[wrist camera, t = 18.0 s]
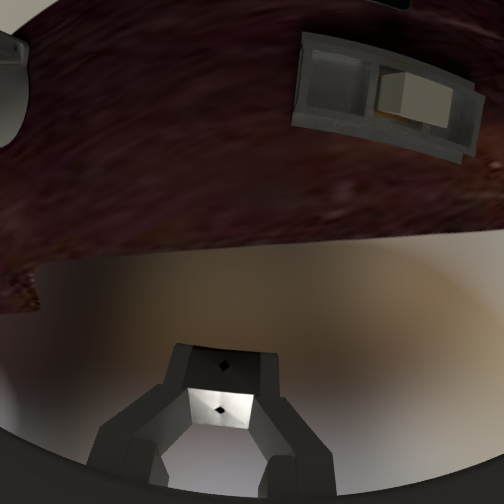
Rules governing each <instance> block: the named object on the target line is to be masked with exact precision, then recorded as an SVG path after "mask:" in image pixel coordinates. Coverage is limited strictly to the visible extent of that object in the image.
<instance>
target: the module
mask: <svg viewBox="0 0 504 504" xmlns="http://www.w3.org/2000/svg"><path fill="white" fill-rule="evenodd" d="M452 93H453V89H452V88H449V87H447V86H444V85H442V84H439V83H436V82H434V81H431V80H428V79H425V78H423V77H420V76H417V75H414V74H411V73H408V72H401V73H394V74H388V75H382V76H378V82H377V90H376V97H375V104H374V110H378V111H382V112H386V113H390V114H393V115H397V116H401V117H404V118H408V119H411V120H416V121H420V122H424V123H428V124H432V125H436V126H440V127H443V128H447V126H448V120H449V114H450V108H451V101H452Z"/></svg>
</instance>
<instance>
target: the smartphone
mask: <svg viewBox="0 0 504 504" xmlns="http://www.w3.org/2000/svg"><path fill="white" fill-rule="evenodd" d="M366 1H370V2H373V3H377V4H380V5H383V6H387V7H390V8H393V9H396V10H399V11H407V10H409V9H410V7H411V0H366Z"/></svg>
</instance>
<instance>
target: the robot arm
mask: <svg viewBox="0 0 504 504" xmlns="http://www.w3.org/2000/svg"><path fill="white" fill-rule="evenodd" d="M28 55H29V44H28V43H27V42H25V41H23V40H21V39H18V38H16V37H14V36H12V35H10V34H7V33H5V32H3V31H0V147H3V146H5V145H7V144H8V143H9V142H11V141H12V139H13V138H14V137H15V136H16V134H17V133H18V131H19V129H20V127H21V125H22V122H23V120H24V117H25V113H26V109H27V104H28V96H29V82H28V74H27V61H28ZM278 362H279V361H278V354H277V353H265V352H252V351H239V350H224V349H217V348H209V347H202V346H195V345H187V344H181V343H177V344H176V345H175V346H174V349H173V352H172V356H171V359H170V362H169V365H168V369H167V372H166V376H165V379H164V382H163V385H161V384H157V385H156V386H154V387H153V388H152V389H151V390H149V391H148V392H146V393H145V394H144V395H143V396H141V397H140V398H138V399H137V400H136V401H134V402H133V403H132V404H130V405H129V406H128V407H126V408H125V409H124V410H122V411H121V412H119V413H118V414H117V415H115V416H114V417H113V418H111V419H110V420H109V421H107V422H106V423H104V424H103V425H101V426H100V428H99V431H98V434H97V436H96V439H95V441H94V444H93V447H92V450H91V452H90V455H89V458H88V461H87V464H86V465H84V464H81V463H78V462H75V461H72V460H70V459H67V458H65V457H62V456H60V455H57V454H55V453H53V452H50V451H48V450H46V449H43V448H41V447H39V446H37V445H35V444H32V443H30V442H28V441H26V440H24V439H22V438H20V437H18V436H16V435H14V434H12V433H10V432H8V431H7V430H5V429H3V428H1V427H0V504H504V454H502V455H500V456H497V457H495V458H492V459H490V460H487V461H485V462H482V463H480V464H477V465H474V466H471V467H468V468H465V469H463V470H460V471H457V472H453V473H450V474H447V475H443V476H440V477H437V478H433V479H429V480H425V481H421V482H417V483H413V484H408V485H404V486H400V487H394V488H389V489H383V490H377V491H371V492H365V493H357V494H349V495H339V496H337V492H336V482H335V473H334V464H333V455H332V453H331V452H330V451H329V449H328V448H327V447H326V446H325V445H324V444H323V442H322V441H321V440H320V439H319V438H318V437H317V436H316V435H315V433H314V432H313V431H312V430H311V428H310V427H309V426H308V425H307V424H306V423H305V421H304V420H303V419H302V418H301V417H300V415H299V414H298V413H297V412H296V411H295V409H294V408H293V407H292V406H291V404H290V403H289V402H288V401H287V400H286V398H284V397H280V389H279V363H278ZM192 423H199V424H209V425H220V426H227V427H236V428H246V429H248V431H249V432H250V434H251V436H252V437H253V439H254V441H255V442H256V444H257V445H258V447H259V449H260V451H261V452H262V454H263V455H264V457H265V459H266V460H267V461H268V463H267V466H266V468H265V471H264V474H263V477H262V479H261V482H260V485H259V488H258V498H252V497H236V496H225V495H215V494H207V493H199V492H192V491H186V490H180V489H174V488H168V487H167V486H168V481H169V475H168V473H167V471H166V468H165V466H164V463H163V461H162V458H161V455H162V454H163V453H164V452H165V451H166V450H167V449H168V448H169V447H170V446H171V445H172V444H173V443H174V442H175V441H176V440H177V439H178V438H179V437H180V436H181V435H182V434H183V433H184V432H185V431H186V430H187V429H188V428H189V426H191V425H192Z"/></svg>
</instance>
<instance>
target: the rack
mask: <svg viewBox="0 0 504 504" xmlns="http://www.w3.org/2000/svg"><path fill="white" fill-rule="evenodd" d="M401 72H408V73H411V74H414V75H417V76H420V77H423V78H425V79H428V80H431V81H434V82H436V83H439V84H442V85H444V86H447V87H449V88H452V89H453V93H452V101H451V108H450V114H449V120H448V126H447V128H443V127H440V126H436V125H432V124H428V123H424V122H420V121H416V120H411V119H408V118H404V117H401V116H397V115H393V114H390V113H386V112H382V111H378V110H374V104H375V97H376V90H377V82H378V76H382V75H388V74H394V73H401ZM474 85H475V84H474V83H472V82H470V81H468V80H466V79H464V78H461V77H459V76H457V75H454V74H452V73H450V72H447V71H445V70H442V69H440V68H437V67H435V66H432V65H430V64H427V63H424V62H421V61H419V60H416V59H413V58H410V57H407V56H404V55H401V54H398V53H395V52H391V51H388V50H385V49H381V48H377V47H374V46H370V45H366V44H362V43H358V42H354V41H350V40H345V39H341V38H336V37H331V36H326V35H321V34H315V33H309V32H302V36H301V45H300V53H299V62H298V70H297V79H296V87H295V95H294V103H293V111H292V119H291V126H298V127H305V128H311V129H317V130H323V131H329V132H334V133H340V134H345V135H350V136H355V137H360V138H364V139H369V140H373V141H378V142H382V143H386V144H391V145H395V146H399V147H402V148H406V149H410V150H414V151H418V152H421V153H425V154H428V155H432V156H435V157H438V158H442V159H445V160H448V161H451V162H454V163H458V164H461V161H462V157H463V154H466V155H469V156H472V157H475V154H476V150H475V149H476V145H477V140H478V134H479V129H480V123H481V117H482V110H483V103H485V96H483V95H481V94H479V93H477V92H475V91H474Z"/></svg>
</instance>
